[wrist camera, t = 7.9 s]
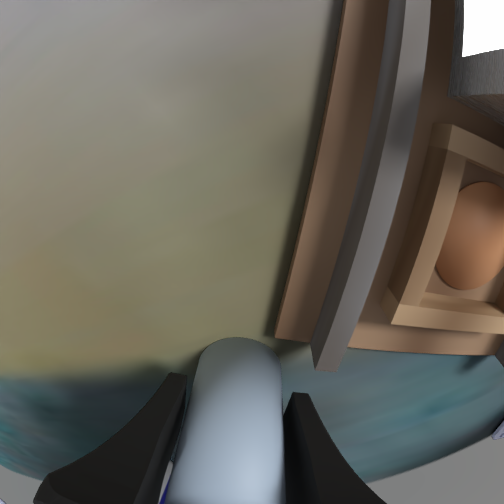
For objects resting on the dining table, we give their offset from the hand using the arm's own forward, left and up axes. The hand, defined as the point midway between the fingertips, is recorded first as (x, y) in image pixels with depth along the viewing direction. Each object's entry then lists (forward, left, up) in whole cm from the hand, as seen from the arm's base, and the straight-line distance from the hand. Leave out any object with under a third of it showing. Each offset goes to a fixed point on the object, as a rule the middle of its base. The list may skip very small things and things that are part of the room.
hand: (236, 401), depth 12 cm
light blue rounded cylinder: (0, 0, -2) cm, 2 cm away
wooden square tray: (-8, -10, -2) cm, 13 cm away
